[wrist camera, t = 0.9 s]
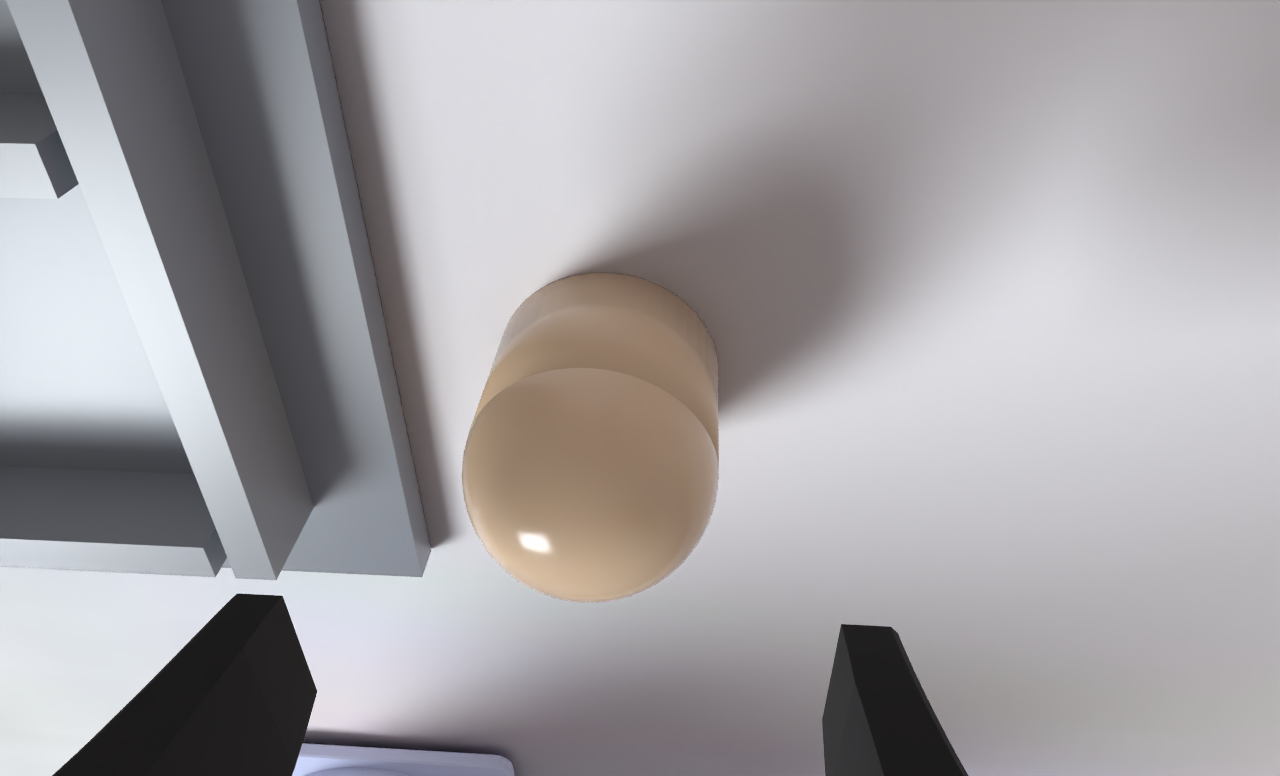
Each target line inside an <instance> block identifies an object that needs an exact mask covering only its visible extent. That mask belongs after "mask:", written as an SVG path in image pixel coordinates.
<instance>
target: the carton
mask: <svg viewBox="0 0 1280 776" xmlns="http://www.w3.org/2000/svg"><path fill="white" fill-rule="evenodd" d="M430 552H431V547H430V543H429V538H428V533H427V528H426V523H425V518H424V513H423V508H422V503H421V498H420V493H419V488H418V484H417V479H416V474H415V469H414V464H413V459H412V454H411V449H410V444H409V439H408V434H407V429H406V424H405V420H404V415H403V410H402V405H401V400H400V395H399V390H398V385H397V380H396V375H395V370H394V365H393V360H392V356H391V351H390V346H389V341H388V336H387V331H386V326H385V321H384V316H383V311H382V306H381V301H380V297H379V292H378V287H377V282H376V277H375V272H374V267H373V262H372V257H371V252H370V247H369V242H368V237H367V233H366V228H365V223H364V218H363V213H362V208H361V203H360V198H359V193H358V188H357V183H356V178H355V173H354V169H353V164H352V159H351V154H350V149H349V144H348V139H347V134H346V129H345V124H344V119H343V114H342V110H341V105H340V100H339V95H338V90H337V85H336V80H335V75H334V70H333V65H332V60H331V55H330V50H329V46H328V41H327V36H326V31H325V26H324V21H323V16H322V11H321V6H320V1H319V0H0V567H16V568H37V569H58V570H78V571H99V572H120V573H140V574H161V575H181V576H202V577H216V575H217V574H218V572H219V570H220V569H221V567H222V568H232V570H233V573H234V575H235V578H243V579H264V580H277V578H278V576H279V574H280V572H281V570H284V571H305V572H326V573H347V574H368V575H389V576H410V577H422V575H423V573H424V570H425V567H426V564H427V561H428V558H429V555H430Z"/></svg>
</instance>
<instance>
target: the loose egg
mask: <svg viewBox="0 0 1280 776" xmlns="http://www.w3.org/2000/svg"><path fill="white" fill-rule="evenodd" d="M718 479H719V453H718V360H717V354H716V349H715V346H714V343H713V340H712V337H711V335H710V334H709V332H708V330H707V328H706V326H705V324H704V323H703V322H702V320H701V319H700V318H699V316H698V315H697V314H696V313H695V312H694V311H693V310H692V309H691V307H690V306H689V305H688V304H686V303H685V302H684V301H683V300H681V299H680V298H679V297H678V296H676V295H675V294H673V293H671V292H670V291H668V290H667V289H665V288H663V287H661V286H659V285H657V284H654V283H652V282H650V281H647V280H644V279H641V278H638V277H634V276H629V275H624V274H617V273H606V272H604V273H586V274H580V275H574V276H570V277H567V278H563V279H560V280H558V281H555V282H553V283H551V284H548V285H547V286H545V287H543V288H541V289H540V290H538V291H536V292H535V293H534V294H532V295H531V296H530V297H529V298H527V299H526V300H525V301H524V302H523V303H522V304H521V305H520V306H519V308H518V309H517V310H516V311H515V313H514V314H513V316H512V317H511V319H510V320H509V322H508V324H507V327H506V329H505V331H504V334H503V337H502V339H501V342H500V345H499V348H498V351H497V354H496V357H495V359H494V362H493V365H492V368H491V371H490V374H489V377H488V379H487V382H486V385H485V388H484V391H483V394H482V396H481V399H480V402H479V405H478V408H477V411H476V414H475V416H474V419H473V422H472V425H471V428H470V431H469V434H468V438H467V441H466V445H465V450H464V455H463V465H462V485H463V493H464V500H465V504H466V508H467V512H468V515H469V517H470V520H471V523H472V525H473V527H474V530H475V532H476V534H477V536H478V537H479V539H480V541H481V542H482V544H483V545H484V547H485V548H486V550H487V551H488V553H489V554H490V555H491V556H492V558H493V559H494V560H495V561H496V562H497V563H498V564H499V565H500V566H501V567H502V568H503V569H504V570H505V571H506V572H508V573H509V574H510V575H511V576H512V577H514V578H515V579H516V580H518V581H519V582H521V583H523V584H524V585H526V586H528V587H530V588H532V589H534V590H536V591H538V592H540V593H543V594H546V595H548V596H551V597H554V598H558V599H562V600H567V601H573V602H605V601H612V600H618V599H622V598H625V597H629V596H632V595H634V594H637V593H639V592H641V591H644V590H646V589H648V588H650V587H652V586H653V585H655V584H657V583H659V582H660V581H661V580H663V579H664V578H666V577H667V576H668V575H670V574H671V573H672V572H673V571H675V570H676V569H677V568H678V567H679V566H680V565H681V564H682V563H683V562H684V561H685V560H686V558H687V557H688V556H689V555H690V553H691V552H692V551H693V549H694V548H695V547H696V546H697V544H698V543H699V541H700V539H701V537H702V535H703V533H704V531H705V529H706V528H707V526H708V524H709V521H710V518H711V515H712V512H713V509H714V505H715V502H716V496H717V489H718Z"/></svg>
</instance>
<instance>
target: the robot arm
mask: <svg viewBox="0 0 1280 776" xmlns="http://www.w3.org/2000/svg"><path fill="white" fill-rule="evenodd" d="M316 693H317V690H316V687H315V684H314V682H313V679H312V676H311V673H310V670H309V668H308V665H307V662H306V659H305V657H304V654H303V651H302V648H301V646H300V643H299V640H298V637H297V635H296V632H295V629H294V626H293V624H292V621H291V618H290V615H289V613H288V610H287V607H286V604H285V602H284V599H283V596H274V595H254V594H236V595H235V596H234V597H233V598H232V599H231V600H230V601H229V602H228V603H227V604H226V605H225V606H224V607H223V608H222V609H221V610H220V611H219V612H218V613H217V614H216V615H215V616H214V617H213V618H212V619H211V620H210V621H209V622H208V623H207V624H206V625H205V626H204V627H203V628H202V629H201V630H200V631H199V632H198V633H197V634H196V635H195V636H194V637H193V638H192V639H191V640H190V641H189V642H188V643H187V644H186V646H185V647H184V648H183V649H182V650H181V651H180V652H179V653H178V654H177V655H176V656H175V657H174V658H173V659H172V660H171V661H170V662H169V663H168V664H167V665H166V666H165V667H164V668H163V669H162V670H161V671H160V672H159V673H158V674H157V675H156V676H155V677H154V678H153V679H152V680H151V681H150V682H149V683H148V684H147V685H146V686H145V687H144V688H143V689H142V690H141V691H140V692H139V693H138V694H137V695H136V696H135V697H134V698H133V699H132V700H131V701H130V702H129V703H128V704H127V705H126V706H125V707H124V708H123V709H122V710H121V711H120V712H119V713H118V714H117V715H116V716H115V717H114V718H113V719H112V720H111V721H110V722H109V723H108V724H107V725H106V726H105V727H104V728H102V729H101V730H100V731H99V732H98V733H97V734H96V735H95V736H94V737H93V738H92V739H91V740H90V741H89V742H88V743H87V744H86V745H85V746H84V747H83V748H82V749H81V750H80V751H79V752H78V753H77V754H75V755H74V756H73V757H72V758H71V759H70V760H69V761H68V762H67V763H66V764H65V765H63V766H62V767H61V768H60V769H59V770H58V771H57V772H56V773H55V774H54V775H52V776H515V775H514V769H513V765H512V763H511V762H510V761H509V760H508V759H507V758H505V757H502V756H499V755H492V754H475V753H458V752H441V751H424V750H407V749H390V748H373V747H356V746H339V745H322V744H305V743H303V740H304V737H305V733H306V730H307V726H308V722H309V719H310V715H311V712H312V708H313V704H314V701H315V697H316ZM822 723H823V740H824V758H825V774H826V776H968V774H967V773H966V771H965V769H964V767H963V765H962V764H961V762H960V760H959V758H958V757H957V755H956V753H955V751H954V749H953V747H952V745H951V744H950V742H949V740H948V738H947V736H946V734H945V732H944V730H943V728H942V727H941V725H940V723H939V721H938V719H937V717H936V715H935V713H934V711H933V709H932V707H931V705H930V703H929V701H928V699H927V697H926V695H925V693H924V691H923V689H922V687H921V685H920V682H919V680H918V678H917V676H916V674H915V672H914V670H913V667H912V665H911V663H910V661H909V658H908V656H907V654H906V652H905V649H904V647H903V645H902V642H901V640H900V638H899V635H898V633H897V632H896V631H895V630H894V629H892V628H891V627H884V626H864V625H845V624H841V629H840V634H839V639H838V644H837V649H836V654H835V659H834V664H833V669H832V674H831V679H830V684H829V689H828V694H827V699H826V704H825V709H824V714H823V719H822Z"/></svg>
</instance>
